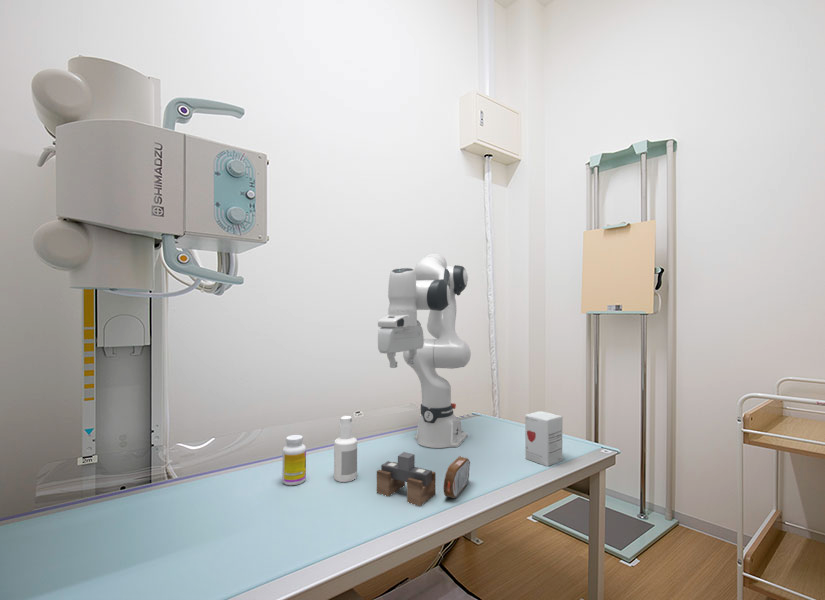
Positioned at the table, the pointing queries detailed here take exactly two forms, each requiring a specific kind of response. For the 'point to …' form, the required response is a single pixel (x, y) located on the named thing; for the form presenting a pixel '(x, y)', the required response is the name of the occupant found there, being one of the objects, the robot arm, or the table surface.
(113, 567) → the table surface
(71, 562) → the table surface
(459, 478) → the tin
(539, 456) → the supplement box
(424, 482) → the power strip
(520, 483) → the table surface
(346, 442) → the spray bottle
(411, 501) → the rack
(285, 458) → the supplement bottle
